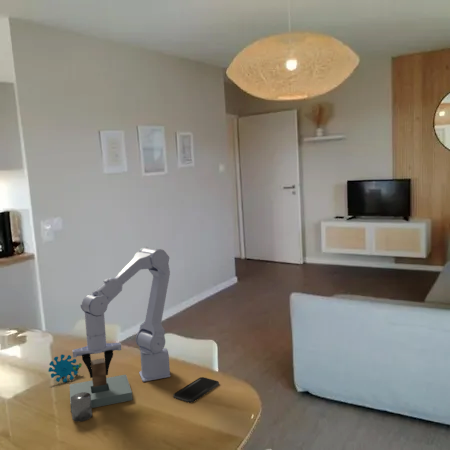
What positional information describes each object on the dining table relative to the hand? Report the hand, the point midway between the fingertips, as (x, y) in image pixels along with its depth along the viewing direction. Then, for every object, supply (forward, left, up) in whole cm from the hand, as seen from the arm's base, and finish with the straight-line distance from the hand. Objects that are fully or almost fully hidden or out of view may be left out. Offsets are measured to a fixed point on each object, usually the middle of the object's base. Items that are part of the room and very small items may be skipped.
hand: (98, 375), depth 146 cm
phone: (-29, +9, -7) cm, 31 cm away
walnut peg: (0, 0, -2) cm, 3 cm away
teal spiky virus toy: (+10, -19, -7) cm, 22 cm away
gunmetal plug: (+6, +11, -7) cm, 14 cm away
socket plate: (0, 0, -7) cm, 7 cm away
